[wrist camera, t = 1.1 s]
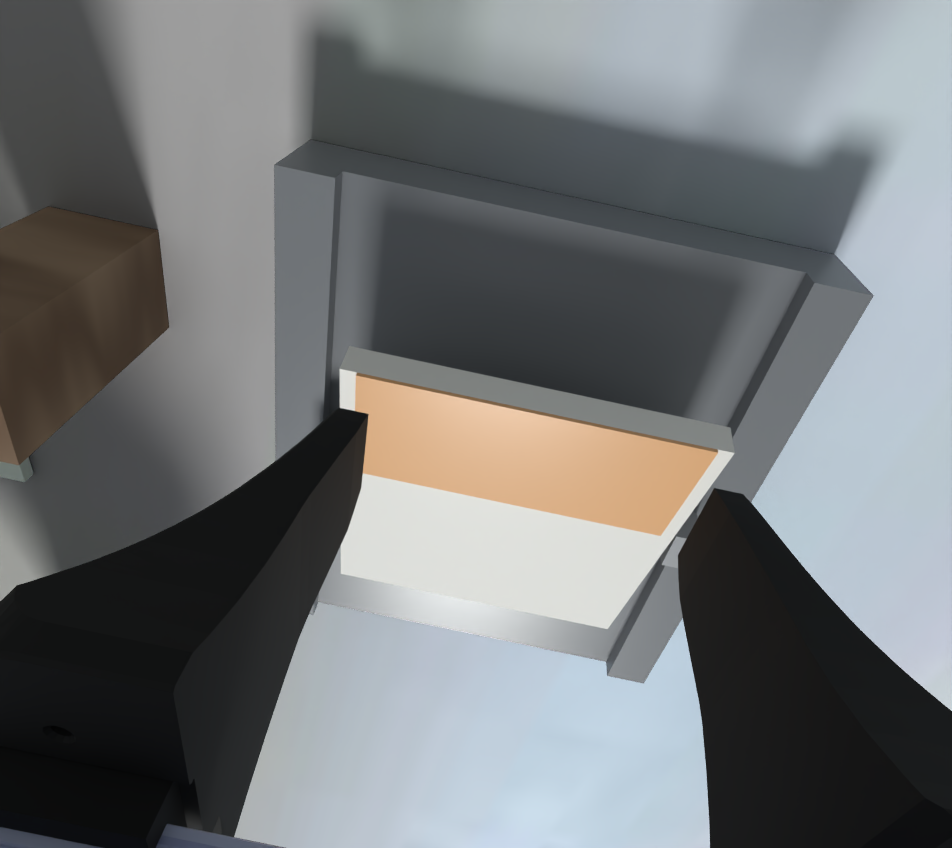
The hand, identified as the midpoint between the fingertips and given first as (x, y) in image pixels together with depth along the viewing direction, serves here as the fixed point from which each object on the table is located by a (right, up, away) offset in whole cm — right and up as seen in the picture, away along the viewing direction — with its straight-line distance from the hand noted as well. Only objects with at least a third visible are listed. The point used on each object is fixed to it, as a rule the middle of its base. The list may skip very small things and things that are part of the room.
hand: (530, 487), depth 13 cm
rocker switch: (0, -1, +5) cm, 5 cm away
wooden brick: (-12, +6, +6) cm, 15 cm away
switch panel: (0, +1, +8) cm, 8 cm away
